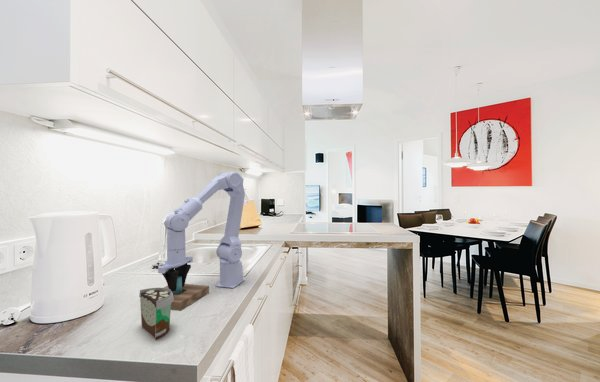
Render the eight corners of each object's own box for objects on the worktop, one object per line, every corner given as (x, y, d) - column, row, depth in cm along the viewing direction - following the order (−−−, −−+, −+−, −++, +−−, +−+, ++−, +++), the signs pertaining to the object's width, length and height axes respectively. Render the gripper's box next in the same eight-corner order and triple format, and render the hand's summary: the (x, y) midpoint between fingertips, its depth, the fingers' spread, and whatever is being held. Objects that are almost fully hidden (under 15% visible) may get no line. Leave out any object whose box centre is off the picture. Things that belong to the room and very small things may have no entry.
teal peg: (176, 291, 96) (176, 275, 96) (184, 292, 95) (184, 276, 95) (168, 294, 93) (167, 278, 93) (176, 296, 92) (175, 279, 92)
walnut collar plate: (174, 289, 103) (174, 282, 103) (209, 292, 99) (209, 285, 99) (141, 305, 89) (141, 297, 89) (180, 310, 85) (180, 302, 85)
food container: (182, 332, 72) (182, 294, 72) (157, 342, 67) (157, 301, 67) (163, 318, 80) (162, 283, 80) (139, 326, 75) (139, 289, 75)
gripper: (180, 244, 102) (181, 280, 102) (150, 252, 88) (150, 295, 88) (197, 245, 100) (197, 282, 100) (168, 254, 86) (169, 297, 86)
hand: (176, 288), depth 94 cm, fingers closed on teal peg, 4 cm apart
